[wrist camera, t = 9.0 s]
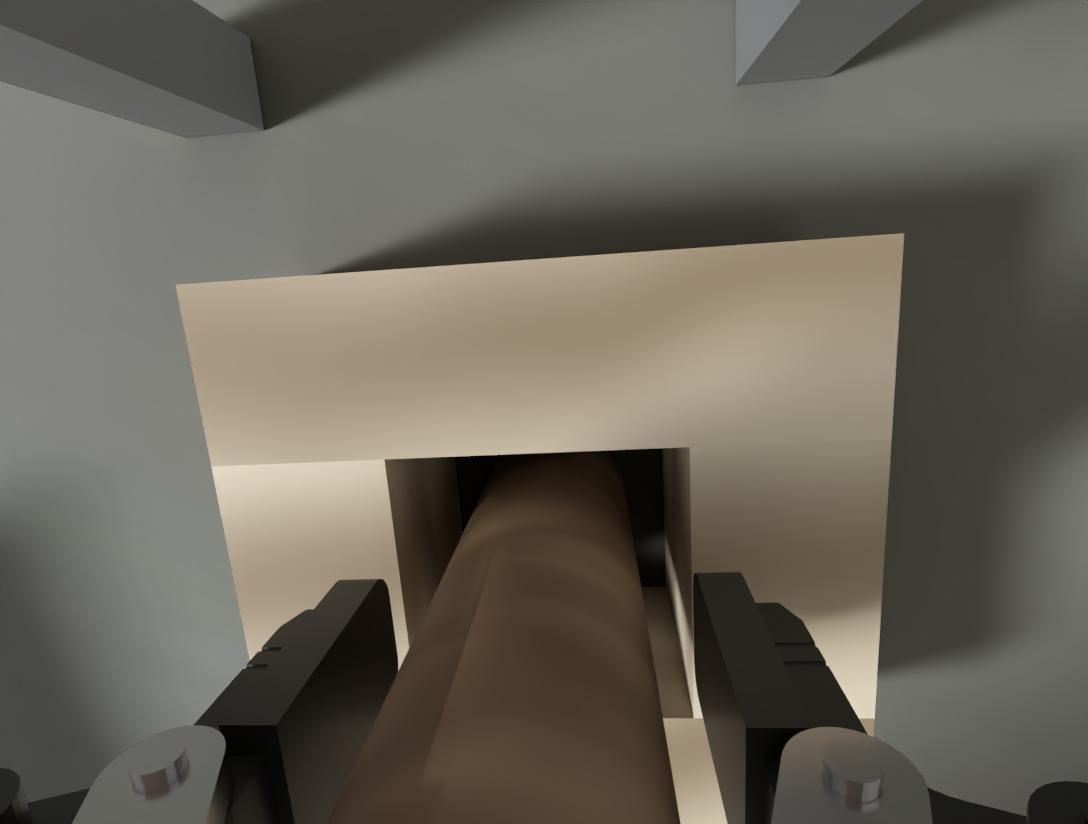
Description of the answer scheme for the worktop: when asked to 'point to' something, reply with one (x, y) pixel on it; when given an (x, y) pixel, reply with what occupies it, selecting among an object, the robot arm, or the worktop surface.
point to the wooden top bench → (228, 69)
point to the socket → (567, 431)
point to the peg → (527, 669)
